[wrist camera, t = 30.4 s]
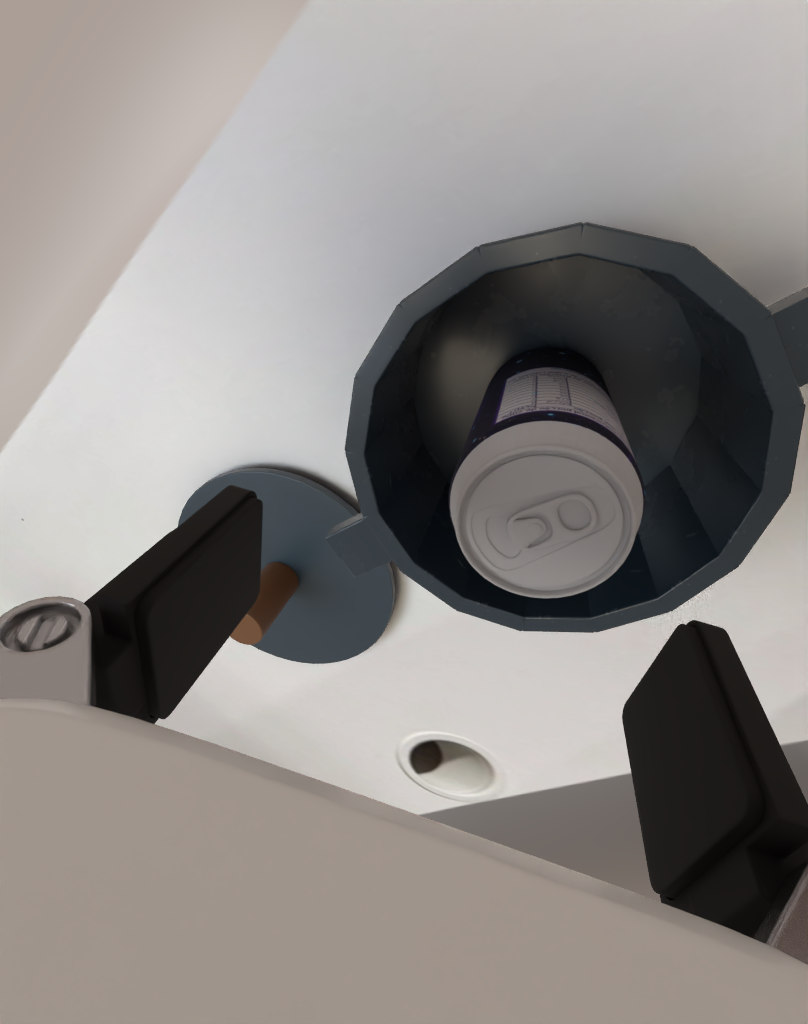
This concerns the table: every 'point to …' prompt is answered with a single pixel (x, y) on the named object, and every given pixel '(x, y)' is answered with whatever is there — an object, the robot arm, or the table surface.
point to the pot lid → (304, 573)
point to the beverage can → (546, 479)
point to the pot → (635, 394)
